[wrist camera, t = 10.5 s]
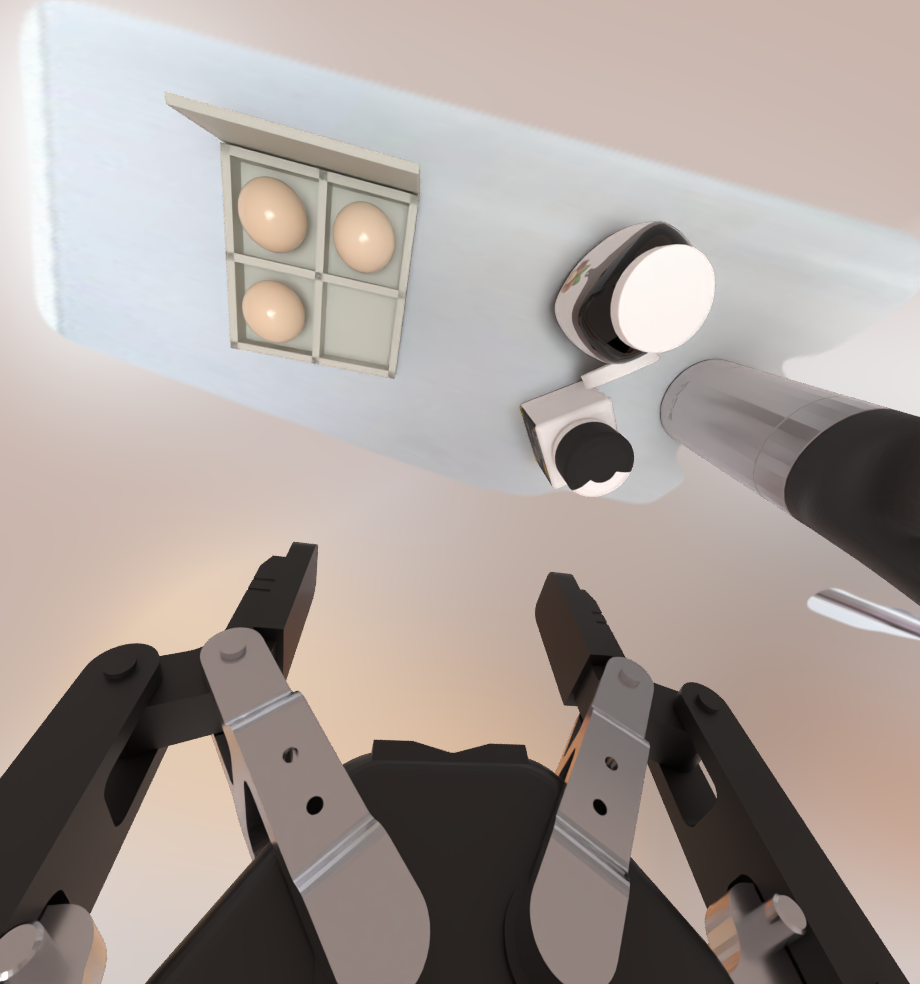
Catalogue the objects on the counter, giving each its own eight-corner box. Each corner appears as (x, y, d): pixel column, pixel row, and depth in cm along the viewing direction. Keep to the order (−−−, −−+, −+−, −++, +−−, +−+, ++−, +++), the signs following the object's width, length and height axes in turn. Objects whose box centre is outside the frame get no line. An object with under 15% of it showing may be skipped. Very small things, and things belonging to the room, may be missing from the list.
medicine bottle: (518, 404, 42) (550, 447, 32) (583, 378, 42) (638, 414, 31) (535, 461, 46) (570, 517, 35) (596, 438, 45) (650, 489, 35)
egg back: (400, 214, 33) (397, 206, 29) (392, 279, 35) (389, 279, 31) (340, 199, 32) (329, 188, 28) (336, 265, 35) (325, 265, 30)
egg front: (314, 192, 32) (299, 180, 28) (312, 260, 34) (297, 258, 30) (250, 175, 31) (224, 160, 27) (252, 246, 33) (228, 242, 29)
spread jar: (617, 212, 35) (699, 188, 25) (687, 307, 39) (781, 319, 29) (520, 324, 39) (555, 344, 28) (593, 400, 43) (647, 440, 33)
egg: (312, 286, 35) (297, 289, 31) (310, 342, 37) (296, 352, 33) (253, 273, 34) (230, 274, 30) (255, 332, 36) (233, 340, 32)
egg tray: (419, 191, 33) (420, 164, 25) (395, 372, 40) (389, 399, 31) (234, 140, 30) (164, 91, 22) (241, 343, 37) (190, 363, 29)
